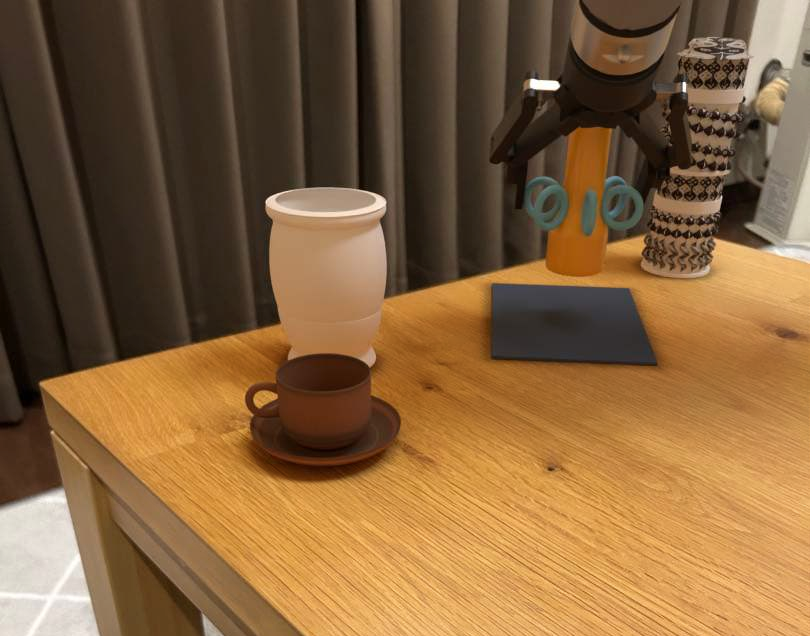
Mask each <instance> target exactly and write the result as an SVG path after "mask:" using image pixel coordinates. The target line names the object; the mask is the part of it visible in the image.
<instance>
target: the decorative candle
mask: <svg viewBox="0 0 810 636" xmlns="http://www.w3.org/2000/svg"><path fill="white" fill-rule="evenodd" d="M677 55H678V61H677V65H676V73H675V77H676V76H677V75H679V74H686V75H688V106H687V109H686V110H687V116H688V122H689V127H690V133H691V139H692V166H691V167H690V168H689V169H686V170H682V169H679V168H678V166H675V167H672V168H670V178H669V179H667V180H664V181H663V184H662V186H661V187H660V188H656V191H655V192H654V196H653V202H652V205H651V206H650V208H649V209H648V214H649V215H650V216H651V217H652V218H649V219H648V221H647V222H646V227H647V228H648V229H649V230H650V231H649V232H647V234H646V235H645V236H644V237H643V243H644V245H645V246H644V247H643V249H642V251H641V255H642V257H643V259H642V261H641V262H640V267H641V269H643V270H644V271H646V272H648V273H649V274H651V275H656V276H660V277H664V278H672V279H696V278H702V277H704V276H707V275H708V274H709V273H710V269H711V265H710V264H711V263H712V262H713V259H714V255H713V254H712V252H713V251H714V250H715V247H717V242H716V241H715V238H714V237H713V236H716V235H717V234H718V232H719V230H720V227H719V226H718V225H717V224H716V223H718V222H720V221H721V219H722V217H723V214H722V212H721V211H720V209H721V204H722V201H723V195H722V193H723V188H724V183H725V178H726V175H728V174H730V173H731V170H732V169H733V164H732V163H731V162H730V161H729V159H732V158H733V157H734V156H736V154H737V150H736V149H735V148H733V146H732V145H731V144H732V141H735V140H736V139H738V138H740V137H741V136H742V132H741V131H740V129H738V127H736V128H735V125H736V126H739V125H740V124H742V123H744V121H745V116H744V115H743V114H742V113H741V112H739V113H738V110H739V107H740V105H742V104H743V103H745V102H746V100H747V98H746V96H745V91H746V86H745V84H746V83H745V82H746V78H747V73H748V69H749V63H750V59H753V58H754V57H755V56H754V55H752V54H750V52H749V50H748V46H747V44H746V42H745V41H744V40H743V39H740V38H733V37H721V36H704V37H703V36H700V37H695V38H693V39H691V40H690V41H689V43H687V45H686V47H685V48H684V50H683V51H680V52H678V53H677ZM661 116H662V117H663V119H664V120H665V121H666V122H667V123H666V124H665V125H663V126H662V127H661V129H660V130H661V132H662V133H663V135H664V136H665V138H666V139H667V141H668V142H669V143H670V146H673V140H672V135H671V131H670V126H669V114H665V113H664V110H663V111H661Z"/></svg>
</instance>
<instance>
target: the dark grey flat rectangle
mask: <svg viewBox="0 0 810 636" xmlns="http://www.w3.org/2000/svg"><path fill="white" fill-rule="evenodd" d="M491 293H492V295H491V351H490V352H491V355H490V357H491V358H490V359H494V360H515V361H517V360H518V361H540V362H541V361H543V362H561V363H563V362H564V363H565V362H566V363H585V364H586V363H587V364H588V363H589V364H610V365H611V364H612V365H631V366H632V365H633V366H634V365H635V366H653V367H654V366H658V365H659V362H658V360H657V358H656V354H655V352H654V349H653V346H652V344H651V341H650V339H649V336H648V334H647V331H646V328H645V326H644V323H643V321H642V317H641V316H640V312H639V310H638V308H637V304H636V301H635V300H634V298H633V294H632V292H631V289H630V287H610V286H607V287H606V286H584V285H583V286H582V285H581V286H580V285H555V284H553V285H552V284H530V283H529V284H527V283H503V282H501V283H500V282H492V285H491Z"/></svg>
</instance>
